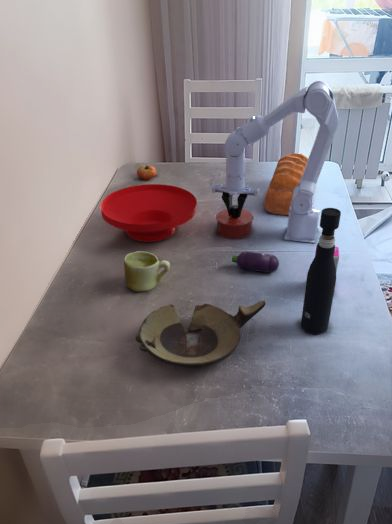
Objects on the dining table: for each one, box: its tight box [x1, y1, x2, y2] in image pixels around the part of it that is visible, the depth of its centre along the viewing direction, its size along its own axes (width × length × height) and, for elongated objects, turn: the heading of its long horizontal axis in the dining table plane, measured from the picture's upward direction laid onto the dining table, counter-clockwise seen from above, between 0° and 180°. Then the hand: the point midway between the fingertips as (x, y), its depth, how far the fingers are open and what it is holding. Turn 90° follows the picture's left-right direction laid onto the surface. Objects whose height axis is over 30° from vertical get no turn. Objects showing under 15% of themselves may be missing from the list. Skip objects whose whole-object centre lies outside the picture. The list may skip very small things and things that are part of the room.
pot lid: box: [215, 204, 255, 227], centre depth 153 cm, size 12×12×4 cm
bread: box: [263, 152, 309, 216], centre depth 172 cm, size 16×31×13 cm, turn 165°
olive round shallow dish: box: [134, 300, 267, 368], centre depth 110 cm, size 22×30×8 cm
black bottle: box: [300, 207, 342, 336], centre depth 107 cm, size 6×6×30 cm
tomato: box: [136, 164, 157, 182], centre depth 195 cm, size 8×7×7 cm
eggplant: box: [231, 250, 280, 273], centre depth 136 cm, size 13×5×5 cm, turn 73°
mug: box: [123, 250, 171, 292], centre depth 131 cm, size 12×10×10 cm
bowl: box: [100, 183, 198, 243], centre depth 156 cm, size 30×30×10 cm
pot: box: [216, 220, 253, 240], centre depth 156 cm, size 11×11×4 cm
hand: (234, 215), depth 154 cm, fingers closed on pot lid, 2 cm apart
